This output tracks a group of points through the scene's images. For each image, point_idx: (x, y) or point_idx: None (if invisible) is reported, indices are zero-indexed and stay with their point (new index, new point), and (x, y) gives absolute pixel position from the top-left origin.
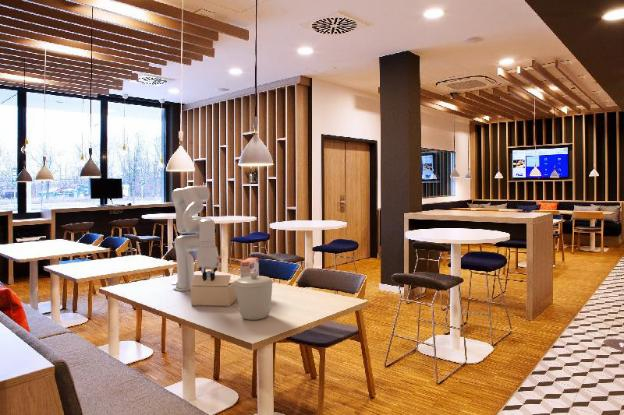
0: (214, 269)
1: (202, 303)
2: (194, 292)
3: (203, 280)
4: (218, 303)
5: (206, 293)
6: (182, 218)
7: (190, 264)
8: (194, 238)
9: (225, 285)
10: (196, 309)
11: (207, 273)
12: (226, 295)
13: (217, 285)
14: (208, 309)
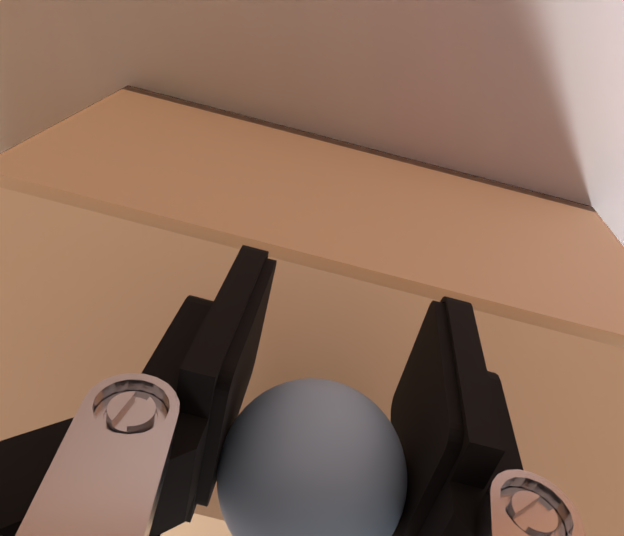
0: (17, 494)
1: (457, 183)
2: (602, 280)
3: (466, 302)
4: (249, 130)
5: (403, 224)
6: None
7: None
8: None
9: (11, 192)
10: (528, 34)
11: (349, 445)
12: (92, 132)
13: (176, 233)
14: (365, 6)
